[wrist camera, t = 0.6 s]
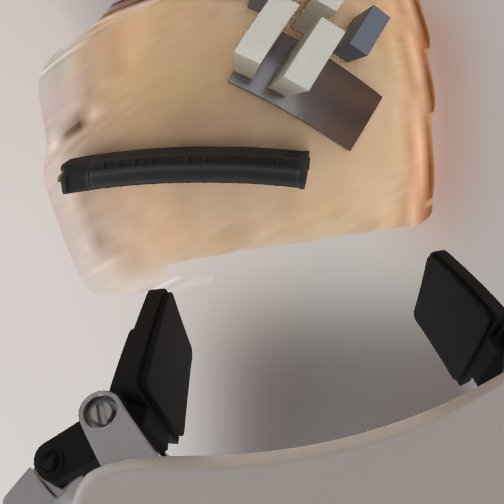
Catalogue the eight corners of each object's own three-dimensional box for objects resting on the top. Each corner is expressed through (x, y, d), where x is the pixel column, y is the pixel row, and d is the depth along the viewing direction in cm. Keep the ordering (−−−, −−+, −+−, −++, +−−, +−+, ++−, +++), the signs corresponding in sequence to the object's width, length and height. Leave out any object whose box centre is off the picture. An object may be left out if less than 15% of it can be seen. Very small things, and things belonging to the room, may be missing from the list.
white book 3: (296, 43, 26) (322, 16, 17) (313, 52, 27) (346, 31, 17) (268, 87, 29) (283, 76, 19) (285, 97, 30) (308, 91, 20)
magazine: (351, 164, 26) (23, 190, 17) (347, 195, 28) (30, 227, 18) (279, 141, 40) (71, 157, 31) (277, 162, 42) (73, 180, 32)
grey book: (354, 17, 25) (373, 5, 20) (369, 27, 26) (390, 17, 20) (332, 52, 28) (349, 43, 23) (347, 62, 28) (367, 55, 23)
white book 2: (315, -7, 24) (343, -41, 14) (331, 2, 24) (364, -28, 14) (290, 28, 26) (313, -2, 17) (307, 37, 27) (336, 11, 17)
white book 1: (262, 25, 25) (274, -8, 15) (280, 34, 26) (300, 4, 16) (234, 70, 28) (233, 51, 18) (252, 79, 29) (260, 64, 19)
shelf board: (263, 25, 26) (264, 23, 25) (378, 97, 31) (382, 97, 30) (228, 82, 30) (227, 81, 28) (346, 149, 34) (350, 151, 33)
